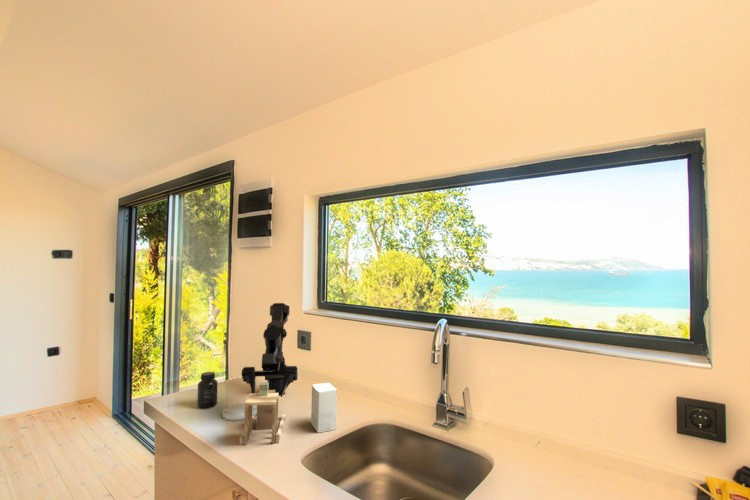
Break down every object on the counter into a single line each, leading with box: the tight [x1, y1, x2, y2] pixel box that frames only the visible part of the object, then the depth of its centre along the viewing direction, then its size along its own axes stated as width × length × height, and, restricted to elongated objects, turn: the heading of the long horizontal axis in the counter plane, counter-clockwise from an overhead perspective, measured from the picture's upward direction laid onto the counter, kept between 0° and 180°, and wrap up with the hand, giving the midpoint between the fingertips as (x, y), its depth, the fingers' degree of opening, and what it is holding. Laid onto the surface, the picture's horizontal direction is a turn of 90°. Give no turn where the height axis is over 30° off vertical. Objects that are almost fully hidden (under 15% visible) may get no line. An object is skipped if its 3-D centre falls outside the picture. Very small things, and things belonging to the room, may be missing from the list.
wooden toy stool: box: [243, 381, 280, 445], centre depth 114 cm, size 8×9×16 cm
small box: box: [310, 382, 338, 434], centre depth 123 cm, size 8×6×13 cm
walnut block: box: [256, 390, 275, 431], centre depth 122 cm, size 5×5×11 cm
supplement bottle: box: [196, 371, 219, 410], centre depth 138 cm, size 7×7×12 cm
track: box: [239, 414, 286, 446], centre depth 119 cm, size 18×11×2 cm, turn 8°
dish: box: [221, 403, 257, 422], centre depth 131 cm, size 12×12×1 cm
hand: (267, 396), depth 124 cm, fingers open, 9 cm apart
